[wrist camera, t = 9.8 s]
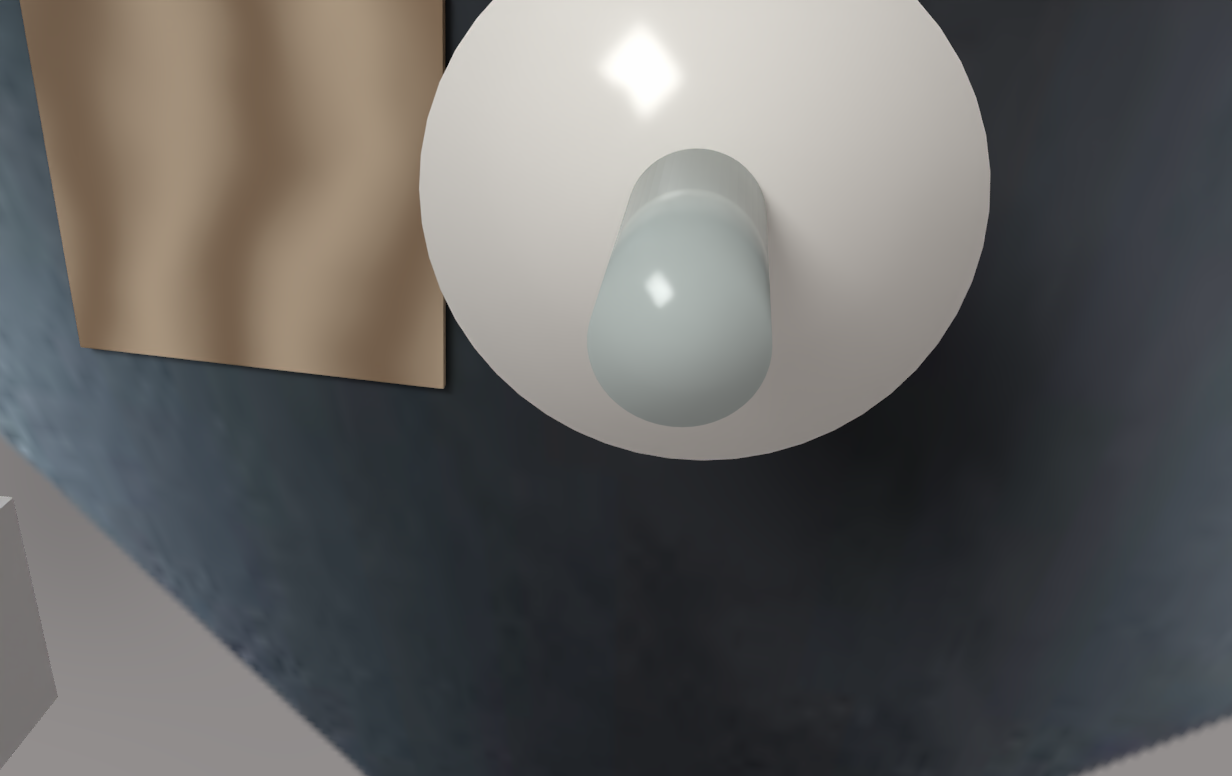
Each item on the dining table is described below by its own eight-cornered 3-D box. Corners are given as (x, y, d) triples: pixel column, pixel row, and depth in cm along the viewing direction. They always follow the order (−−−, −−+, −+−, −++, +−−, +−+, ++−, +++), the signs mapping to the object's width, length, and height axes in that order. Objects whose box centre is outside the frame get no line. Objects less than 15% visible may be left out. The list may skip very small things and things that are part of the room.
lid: (434, 407, 29) (331, 597, 22) (429, -120, 23) (285, -95, 16) (918, 463, 29) (975, 679, 21) (1043, -69, 23) (1182, -19, 15)
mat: (85, 343, 47) (80, 347, 47) (17, -50, 40) (11, -49, 39) (445, 384, 46) (443, 388, 46) (445, -10, 39) (442, -9, 38)
